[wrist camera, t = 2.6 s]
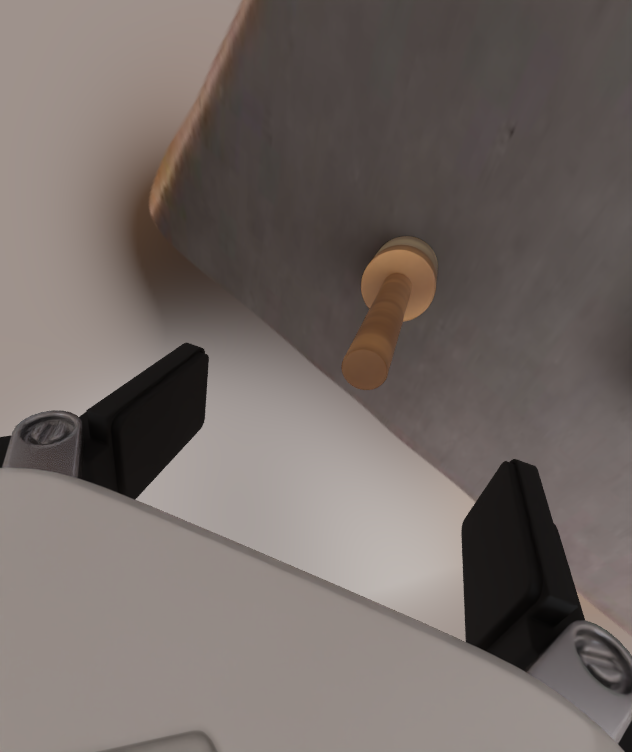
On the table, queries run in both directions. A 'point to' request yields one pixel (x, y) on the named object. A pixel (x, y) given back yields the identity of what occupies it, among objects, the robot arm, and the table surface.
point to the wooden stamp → (389, 306)
